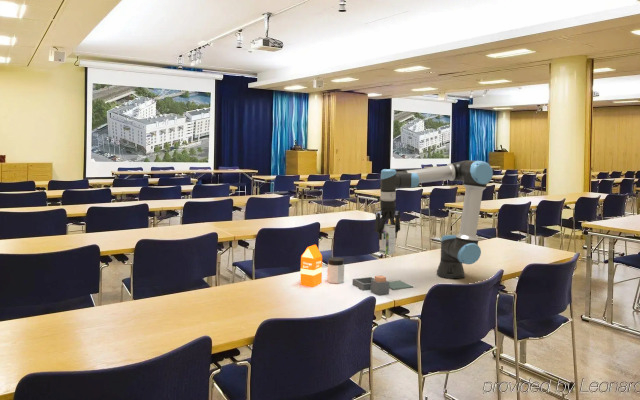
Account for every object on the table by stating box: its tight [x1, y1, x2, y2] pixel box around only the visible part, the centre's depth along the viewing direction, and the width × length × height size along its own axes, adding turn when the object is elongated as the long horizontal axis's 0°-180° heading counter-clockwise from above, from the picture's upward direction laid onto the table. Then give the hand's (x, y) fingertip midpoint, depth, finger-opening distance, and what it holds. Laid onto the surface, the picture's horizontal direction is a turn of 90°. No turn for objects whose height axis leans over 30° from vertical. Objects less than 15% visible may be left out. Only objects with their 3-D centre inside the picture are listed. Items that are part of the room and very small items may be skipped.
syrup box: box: [379, 223, 396, 256], centre depth 244 cm, size 6×6×14 cm
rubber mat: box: [389, 279, 414, 291], centre depth 248 cm, size 12×12×1 cm
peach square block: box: [374, 275, 387, 282], centre depth 234 cm, size 4×4×4 cm
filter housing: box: [352, 276, 390, 296], centre depth 240 cm, size 11×21×6 cm, turn 25°
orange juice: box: [300, 244, 323, 288], centre depth 246 cm, size 8×9×20 cm
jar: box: [326, 256, 345, 284], centre depth 252 cm, size 9×8×12 cm
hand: (387, 245), depth 245 cm, fingers closed on syrup box, 6 cm apart
